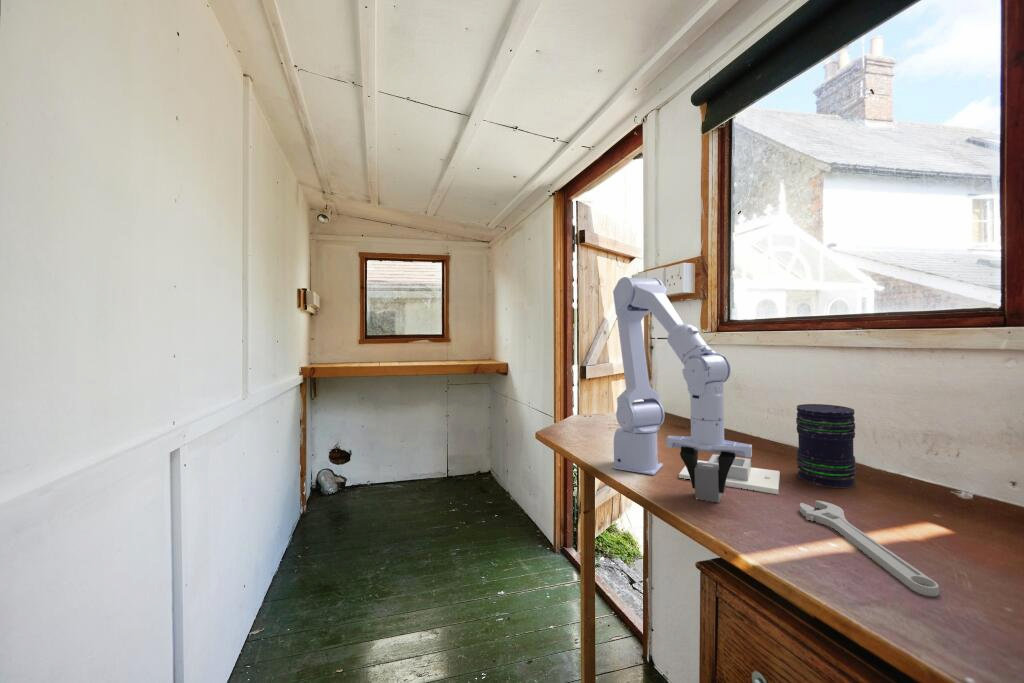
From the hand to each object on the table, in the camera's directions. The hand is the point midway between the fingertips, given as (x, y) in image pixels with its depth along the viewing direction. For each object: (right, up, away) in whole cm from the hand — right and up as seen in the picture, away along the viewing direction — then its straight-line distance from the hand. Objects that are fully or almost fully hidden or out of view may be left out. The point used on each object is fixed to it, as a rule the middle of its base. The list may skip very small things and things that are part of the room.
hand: (708, 489), depth 80 cm
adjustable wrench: (+13, -2, -18) cm, 22 cm away
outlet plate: (+9, -1, +11) cm, 14 cm away
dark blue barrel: (+28, -1, +8) cm, 29 cm away
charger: (0, -2, 0) cm, 2 cm away
